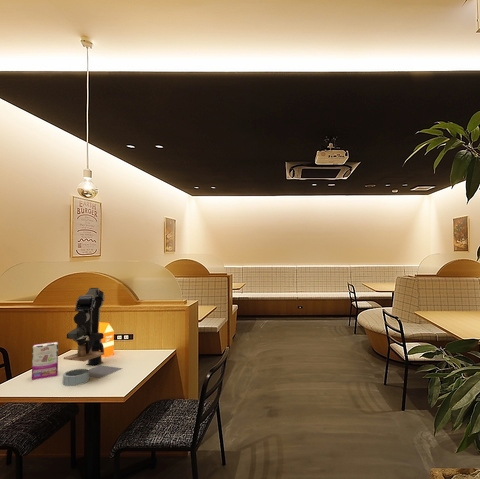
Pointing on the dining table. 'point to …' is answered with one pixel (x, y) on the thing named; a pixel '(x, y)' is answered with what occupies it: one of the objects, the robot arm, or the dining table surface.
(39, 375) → the candy bar box
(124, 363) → the dining table surface
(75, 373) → the bowl
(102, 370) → the mat
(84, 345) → the walnut lid
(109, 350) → the orange juice
